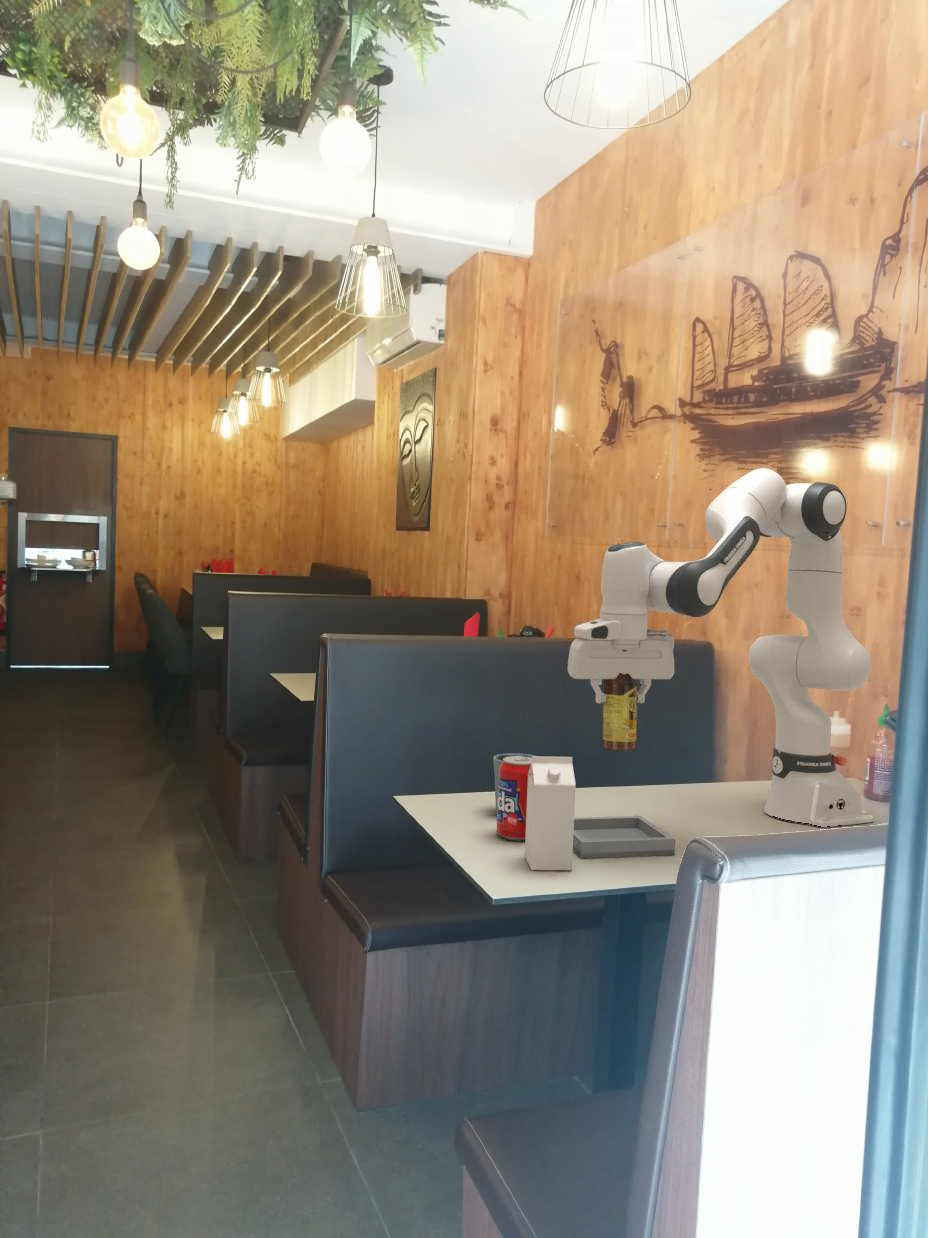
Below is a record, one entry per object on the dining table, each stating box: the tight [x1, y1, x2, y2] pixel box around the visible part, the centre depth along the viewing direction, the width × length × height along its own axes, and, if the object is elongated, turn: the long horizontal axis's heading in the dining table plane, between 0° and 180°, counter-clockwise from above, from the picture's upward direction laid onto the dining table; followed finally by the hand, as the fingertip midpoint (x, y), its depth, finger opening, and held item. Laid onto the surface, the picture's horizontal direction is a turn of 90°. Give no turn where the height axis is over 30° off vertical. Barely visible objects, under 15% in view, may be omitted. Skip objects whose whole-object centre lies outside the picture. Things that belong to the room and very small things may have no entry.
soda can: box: [496, 756, 532, 842], centre depth 170 cm, size 8×8×15 cm
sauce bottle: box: [602, 650, 638, 752], centre depth 166 cm, size 6×6×20 cm
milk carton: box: [524, 755, 577, 871], centre depth 154 cm, size 7×7×19 cm
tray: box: [573, 815, 676, 860], centre depth 168 cm, size 18×15×3 cm
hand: (619, 702), depth 166 cm, fingers closed on sauce bottle, 6 cm apart
